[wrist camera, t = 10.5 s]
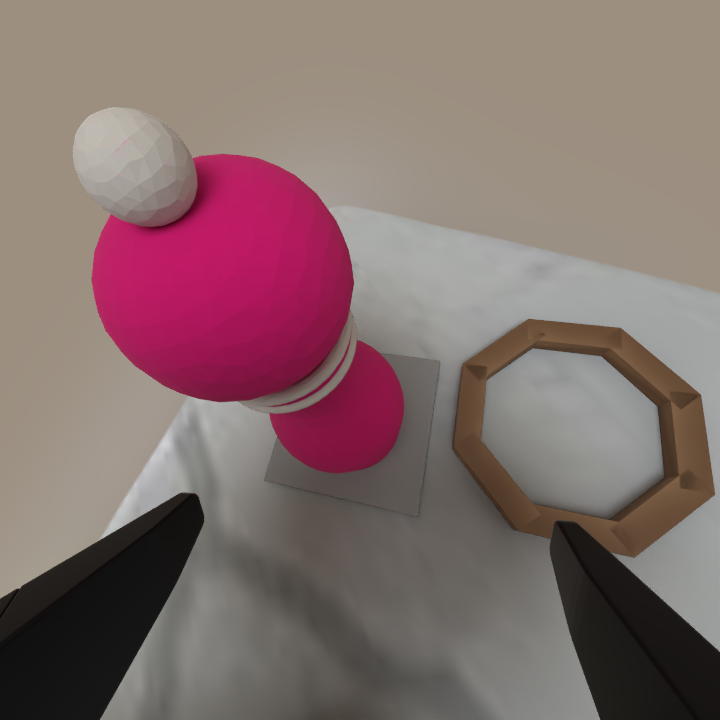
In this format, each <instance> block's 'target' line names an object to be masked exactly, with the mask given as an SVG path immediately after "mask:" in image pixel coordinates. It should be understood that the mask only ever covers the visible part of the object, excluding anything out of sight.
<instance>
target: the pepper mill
mask: <svg viewBox="0 0 720 720" xmlns="http://www.w3.org/2000/svg"><path fill="white" fill-rule="evenodd" d="M73 160H74V167H75V169H76V172H77V174H78V177H79V179H80V182H81V184H82V185H83V187H84V188H85V189H86V191H87V192H88V193H89V195H90V196H91V197H92V199H93V200H94V201H95V202H96V203H97V204H98V205H100V206H101V207H102V208H103V209H105V210H106V211H107V212H109V213H110V214H111V215H110V217H109V219H108V221H107V223H106V224H105V226H104V228H103V230H102V232H101V235H100V238H99V241H98V244H97V246H96V249H95V252H94V262H93V271H92V285H93V291H94V297H95V301H96V305H97V309H98V313H99V316H100V318H101V320H102V323H103V325H104V328H105V330H106V332H107V333H108V334H109V336H110V337H111V338H112V340H113V341H114V342H115V344H116V345H117V346H118V347H119V349H120V350H121V352H122V353H123V354H124V355H125V356H126V357H127V358H128V359H129V360H130V361H131V362H132V363H133V364H134V365H135V366H136V367H138V368H139V369H140V370H142V371H143V372H145V373H146V374H148V375H149V376H151V377H152V378H153V379H155V380H156V381H158V382H159V383H161V384H162V385H164V386H166V387H168V388H170V389H172V390H175V391H177V392H179V393H182V394H185V395H188V396H191V397H195V398H198V399H204V400H210V401H216V402H230V401H238V402H240V403H241V404H242V405H244V406H246V407H248V408H250V409H252V410H256V411H259V412H263V413H270V419H271V422H272V426H273V428H274V430H275V433H276V434H277V436H278V438H279V440H280V442H281V444H282V445H283V446H284V447H285V448H286V450H287V451H288V452H289V453H290V454H291V455H292V456H293V457H295V458H296V459H298V460H299V461H300V462H302V463H304V464H305V465H307V466H308V467H311V468H313V469H315V470H318V471H322V472H327V473H346V472H352V471H356V470H362V469H366V468H369V467H371V466H373V465H375V464H377V463H379V462H380V461H381V460H382V459H383V458H384V457H386V456H387V454H388V453H389V452H390V450H391V449H392V448H393V446H394V444H395V442H396V440H397V437H398V434H399V430H400V428H401V424H402V420H403V416H404V396H403V391H402V388H401V385H400V382H399V380H398V378H397V376H396V374H395V372H394V370H393V368H392V366H391V365H390V364H389V362H388V361H387V360H386V359H385V358H384V357H383V356H382V355H381V354H380V353H379V352H378V351H376V350H375V349H373V348H372V347H371V346H369V345H367V344H365V343H363V342H361V341H358V340H357V331H356V324H355V321H354V317H353V315H352V312H351V310H350V304H351V298H352V292H353V286H354V280H353V272H352V264H351V259H350V255H349V250H348V247H347V245H346V242H345V240H344V237H343V235H342V232H341V230H340V228H339V226H338V224H337V222H336V220H335V219H334V217H333V216H332V214H331V213H330V212H329V210H328V209H327V208H326V206H325V205H324V203H323V202H322V201H321V199H320V198H319V196H318V195H317V194H316V193H315V192H314V191H313V190H312V189H311V188H309V187H308V186H307V185H306V184H305V183H304V182H302V181H301V180H300V179H299V178H298V177H297V176H295V175H294V174H292V173H290V172H288V171H286V170H284V169H283V168H281V167H279V166H276V165H274V164H271V163H269V162H266V161H264V160H261V159H258V158H254V157H247V156H240V155H228V154H217V155H207V156H199V157H196V158H192V156H191V154H190V152H189V150H188V148H187V147H186V146H185V144H184V143H183V142H182V140H181V139H180V137H179V136H178V134H176V133H175V132H174V131H173V130H172V129H171V128H170V127H168V126H167V125H166V124H165V123H164V122H162V121H161V120H159V119H158V118H156V117H154V116H152V115H150V114H147V113H145V112H142V111H140V110H138V109H129V108H122V107H110V108H107V109H104V110H101V111H98V112H96V113H94V114H92V115H90V116H89V117H88V118H87V119H86V120H85V121H84V122H83V123H82V124H81V126H80V127H79V129H78V131H77V132H76V135H75V140H74V147H73Z"/></svg>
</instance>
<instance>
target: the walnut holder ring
mask: <svg viewBox="0 0 720 720" xmlns="http://www.w3.org/2000/svg"><path fill="white" fill-rule="evenodd" d="M532 348H537V349H546V350H554V351H563V352H571V353H580V354H589V355H597V356H602V357H603V358H604V359H606V360H607V361H608V362H609V363H610V364H611V365H612V366H613V367H615V368H616V369H617V370H618V371H619V372H620V373H621V374H622V375H623V376H625V377H626V378H627V379H628V380H629V381H630V382H631V383H632V384H633V385H635V386H636V387H637V388H638V389H639V390H640V391H641V392H642V393H644V394H645V395H646V396H647V397H648V398H649V399H650V400H651V401H652V402H654V403H655V404H656V405H657V406H658V410H659V420H660V431H661V442H662V452H663V463H664V474H665V478H664V479H663V480H661V481H660V482H659V483H657V484H656V485H655V486H653V487H652V488H651V489H650V490H648V491H647V492H646V493H644V494H643V495H642V496H640V497H639V498H638V499H636V500H635V501H634V502H633V503H631V504H630V505H629V506H627V507H626V508H625V509H623V510H622V511H621V512H619V513H618V514H617V515H616V516H614V517H613V518H612V519H610V520H606V519H602V518H597V517H592V516H587V515H583V514H578V513H573V512H569V511H564V510H559V509H555V508H550V507H545V506H540V505H536V504H532V503H531V502H530V500H529V499H528V498H527V497H526V495H525V494H524V493H523V492H522V490H521V489H520V488H519V487H518V486H517V484H516V483H515V482H514V481H513V479H512V478H511V477H510V476H509V474H508V473H507V472H506V471H505V469H504V468H503V467H502V466H501V465H500V463H499V462H498V461H497V460H496V458H495V457H494V456H493V455H492V453H491V452H490V451H489V450H488V448H487V447H486V446H485V445H484V444H483V442H482V441H481V434H482V423H483V412H484V401H485V390H486V380H487V379H489V378H490V377H492V376H493V375H495V374H496V373H498V372H499V371H500V370H502V369H503V368H505V367H506V366H508V365H509V364H511V363H512V362H513V361H515V360H516V359H518V358H519V357H521V356H522V355H523V354H525V353H526V352H528V351H529V350H531V349H532ZM452 449H453V451H454V452H455V453H456V455H457V456H458V457H459V459H460V460H461V461H462V463H463V464H464V465H465V467H466V468H467V469H468V470H469V472H470V473H471V474H472V476H473V477H474V478H475V480H476V481H477V482H478V484H479V485H480V486H481V488H482V489H483V490H484V492H485V493H486V494H487V495H488V497H489V498H490V499H491V501H492V502H493V503H494V505H495V506H496V507H497V509H498V510H499V511H500V513H501V514H502V515H503V517H504V518H505V519H506V521H507V522H508V523H509V524H510V526H511V527H512V528H513V530H517V531H521V532H526V533H530V534H534V535H539V536H543V537H547V538H551V537H552V532H553V526H554V523H555V521H557V520H564V521H574V522H576V523H578V524H579V525H580V526H581V527H583V528H584V529H585V530H586V531H587V532H588V533H589V534H590V535H591V536H592V537H594V538H595V539H596V540H597V541H598V542H599V543H600V544H601V545H602V546H604V547H605V548H606V549H607V550H608V551H609V552H612V553H616V554H621V555H625V556H629V557H633V558H635V557H636V556H637V555H638V554H640V553H641V552H642V551H643V550H645V549H646V548H647V547H649V546H650V545H651V544H652V543H654V542H655V541H656V540H658V539H659V538H660V537H661V536H663V535H664V534H665V533H666V532H668V531H669V530H670V529H672V528H673V527H674V526H675V525H677V524H678V523H679V522H681V521H682V520H683V519H684V518H686V517H687V516H688V515H690V514H691V513H692V512H693V511H695V510H696V509H697V508H698V507H700V506H701V505H702V504H704V503H705V502H706V501H707V500H709V499H710V498H711V497H713V496H714V495H715V491H714V484H713V476H712V469H711V462H710V455H709V448H708V441H707V434H706V427H705V420H704V413H703V406H702V399H701V394H699V393H698V392H697V391H696V390H695V389H693V388H692V387H691V386H690V385H689V384H687V383H686V382H685V381H684V380H683V379H681V378H680V377H679V376H678V375H677V374H675V373H674V372H673V371H672V370H671V369H669V368H668V367H667V366H666V365H665V364H663V363H662V362H661V361H660V360H659V359H657V358H656V357H655V356H654V355H653V354H651V353H650V352H649V351H648V350H647V349H645V348H644V347H643V346H642V345H641V344H639V343H638V342H637V341H636V340H635V339H633V338H632V337H631V336H630V335H629V334H627V333H626V332H625V331H624V330H623V329H621V328H616V327H605V326H595V325H585V324H575V323H564V322H554V321H544V320H534V319H528V320H526V321H525V322H524V323H522V324H521V325H519V326H518V327H516V328H515V329H513V330H512V331H510V332H509V333H507V334H506V335H505V336H503V337H502V338H500V339H499V340H497V341H496V342H494V343H493V344H491V345H490V346H488V347H487V348H486V349H484V350H483V351H481V352H480V353H478V354H477V355H475V356H474V357H472V358H471V359H469V360H468V361H467V362H465V363H463V367H462V372H461V380H460V389H459V397H458V405H457V414H456V422H455V431H454V439H453V448H452Z"/></svg>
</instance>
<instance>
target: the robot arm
mask: <svg viewBox="0 0 720 720" xmlns="http://www.w3.org/2000/svg"><path fill="white" fill-rule="evenodd" d="M203 523H204V513H203V510H202V507H201V504H200V500H199V497H198V495H197V494H195V493H180V494H178V495H176V496H174V497H173V498H171V499H169V500H168V501H166V502H164V503H162V504H161V505H159V506H157V507H156V508H154V509H152V510H151V511H149V512H147V513H145V514H144V515H142V516H140V517H139V518H137V519H135V520H133V521H132V522H130V523H128V524H127V525H125V526H123V527H122V528H120V529H118V530H116V531H115V532H113V533H111V534H110V535H108V536H106V537H105V538H103V539H101V540H99V541H98V542H96V543H94V544H93V545H91V546H89V547H88V548H86V549H84V550H82V551H81V552H79V553H77V554H76V555H74V556H72V557H71V558H69V559H67V560H65V561H64V562H62V563H60V564H58V565H57V566H55V567H53V568H52V569H50V570H48V571H47V572H45V573H43V574H41V575H40V576H38V577H36V578H35V579H33V580H31V581H30V582H28V583H26V584H24V585H23V586H22V587H21V588H20V589H16V590H14V591H12V592H11V593H9V594H8V595H6V596H4V597H2V598H1V599H0V720H100V718H101V717H102V715H103V713H104V711H105V710H106V708H107V706H108V704H109V702H110V701H111V699H112V697H113V695H114V694H115V692H116V690H117V688H118V686H119V685H120V683H121V681H122V679H123V678H124V676H125V674H126V672H127V670H128V669H129V667H130V665H131V663H132V662H133V660H134V658H135V656H136V654H137V653H138V651H139V649H140V647H141V646H142V644H143V642H144V640H145V638H146V637H147V635H148V633H149V631H150V630H151V628H152V626H153V624H154V622H155V621H156V619H157V617H158V615H159V614H160V612H161V610H162V608H163V607H164V605H165V603H166V601H167V599H168V598H169V596H170V594H171V592H172V590H173V589H174V587H175V585H176V583H177V581H178V579H179V577H180V575H181V573H182V570H183V568H184V566H185V564H186V562H187V559H188V557H189V555H190V553H191V551H192V548H193V546H194V544H195V542H196V540H197V537H198V535H199V533H200V531H201V529H202V526H203ZM550 555H551V560H552V564H553V568H554V572H555V576H556V580H557V584H558V588H559V592H560V596H561V600H562V604H563V608H564V612H565V616H566V620H567V624H568V628H569V632H570V635H571V638H572V641H573V644H574V647H575V650H576V653H577V655H578V658H579V661H580V664H581V667H582V669H583V672H584V675H585V678H586V681H587V683H588V686H589V689H590V692H591V695H592V698H593V700H594V703H595V706H596V709H597V712H598V714H599V717H600V720H720V652H719V651H718V650H717V649H716V648H715V647H714V646H713V645H712V644H711V643H710V642H708V641H707V640H706V639H705V638H704V637H703V636H702V635H701V634H700V633H699V632H697V631H696V630H695V629H694V628H693V627H692V626H691V625H690V624H689V623H687V622H686V621H685V620H684V619H683V618H682V617H681V616H680V615H679V614H678V613H676V612H675V611H674V610H673V609H672V608H671V607H670V606H669V605H668V604H666V603H665V602H664V601H663V600H662V599H661V598H660V597H659V596H658V595H657V594H655V593H654V592H653V591H652V590H651V589H650V588H649V587H648V586H647V585H645V584H644V583H643V582H642V581H641V580H640V579H639V578H638V577H637V576H636V575H634V574H633V573H632V572H631V571H630V570H629V569H628V568H627V567H626V566H624V565H623V564H622V563H621V562H620V561H619V560H618V559H617V558H616V557H615V556H613V555H612V554H611V553H610V552H609V551H608V550H607V549H606V548H605V547H604V546H602V545H601V544H600V543H599V542H598V541H597V540H596V539H595V538H594V537H592V536H591V535H590V534H589V533H588V532H587V531H586V530H585V529H584V528H583V527H581V526H580V525H579V524H578V523H576V522H574V521H564V520H557V521H555V523H554V526H553V532H552V537H551V543H550Z"/></svg>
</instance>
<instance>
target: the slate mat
mask: <svg viewBox="0 0 720 720" xmlns="http://www.w3.org/2000/svg"><path fill="white" fill-rule="evenodd" d="M380 354H381V355H382V356H383V357H384V358H385V359H386V360H387V361H388V362H389V364H390V365H391V366H392V368H393V370H394V372H395V374H396V376H397V378H398V380H399V382H400V385H401V388H402V391H403V396H404V416H403V420H402V424H401V428H400V430H399V434H398V437H397V440H396V442H395V444H394V446H393V448H392V449H391V450H390V452H389V453H388V454H387V456H386V457H384V458H383V459H382V460H381V461H380V462H379V463H377V464H375V465H373V466H371V467H369V468H366V469H362V470H356V471H352V472H346V473H327V472H322V471H318V470H315V469H313V468H311V467H308V466H307V465H305V464H304V463H302V462H300V461H299V460H298V459H296V458H295V457H293V456H292V455H291V454H290V453H289V452H288V451H287V450H286V448H285V447H284V446H283V445H282V444H281V442H280V440H279V438H278V436H277V439H276V443H275V446H274V449H273V453H272V456H271V459H270V463H269V466H268V469H267V473H266V476H265V479H264V480H265V481H269V482H273V483H277V484H282V485H286V486H290V487H294V488H298V489H303V490H307V491H311V492H315V493H319V494H324V495H328V496H332V497H336V498H340V499H345V500H349V501H353V502H357V503H362V504H366V505H370V506H374V507H378V508H383V509H387V510H391V511H395V512H399V513H404V514H408V515H412V516H416V517H418V513H419V506H420V499H421V492H422V485H423V478H424V471H425V464H426V457H427V450H428V443H429V436H430V429H431V422H432V415H433V408H434V401H435V394H436V387H437V380H438V373H439V366H440V361H436V360H429V359H421V358H414V357H406V356H398V355H391V354H383V353H380Z"/></svg>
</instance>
